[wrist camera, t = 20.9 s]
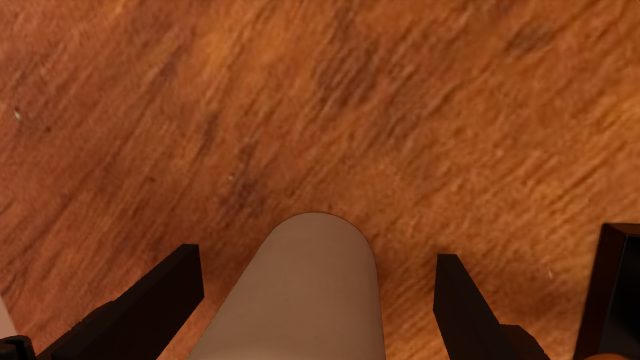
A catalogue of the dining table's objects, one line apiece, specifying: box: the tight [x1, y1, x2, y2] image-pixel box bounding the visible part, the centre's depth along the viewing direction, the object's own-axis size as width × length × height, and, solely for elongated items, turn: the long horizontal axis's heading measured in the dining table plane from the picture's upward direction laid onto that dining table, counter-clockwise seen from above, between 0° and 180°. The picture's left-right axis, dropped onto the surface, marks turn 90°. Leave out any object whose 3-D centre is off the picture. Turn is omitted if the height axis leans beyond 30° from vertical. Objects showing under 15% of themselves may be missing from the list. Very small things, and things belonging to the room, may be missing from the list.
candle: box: [186, 212, 386, 360], centre depth 10 cm, size 6×6×10 cm
